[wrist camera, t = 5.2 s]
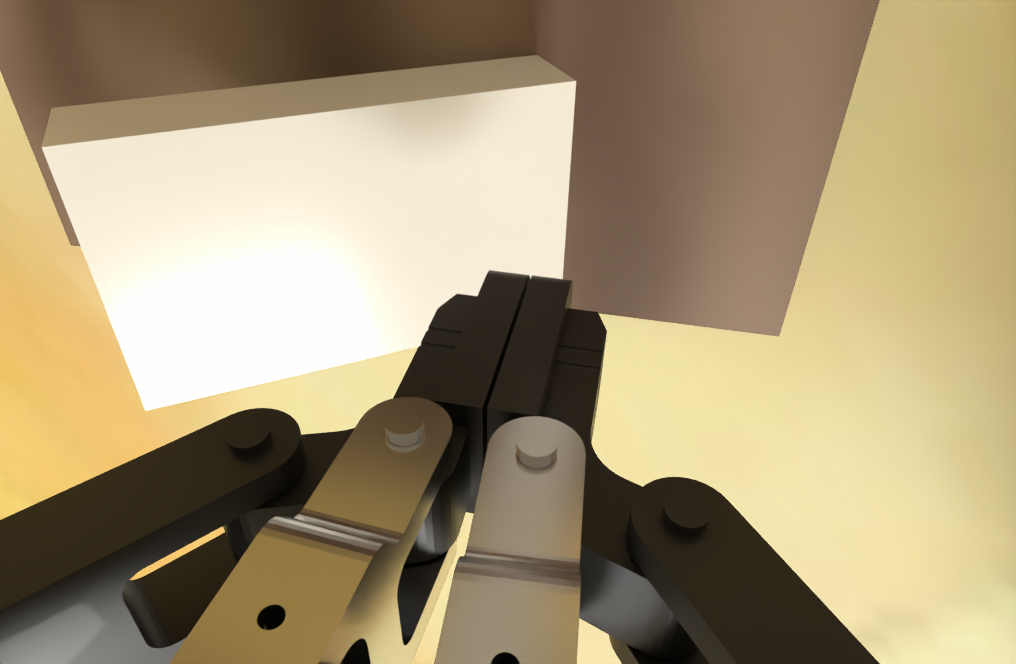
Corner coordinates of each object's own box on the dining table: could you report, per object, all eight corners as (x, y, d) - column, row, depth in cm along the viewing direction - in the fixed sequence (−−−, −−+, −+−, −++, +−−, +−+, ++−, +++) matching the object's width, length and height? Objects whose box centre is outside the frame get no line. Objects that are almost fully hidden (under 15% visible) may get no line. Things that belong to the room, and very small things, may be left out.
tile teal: (576, 80, 15) (42, 147, 12) (560, 313, 19) (145, 411, 16) (535, 53, 17) (52, 106, 14) (527, 273, 20) (144, 354, 17)
